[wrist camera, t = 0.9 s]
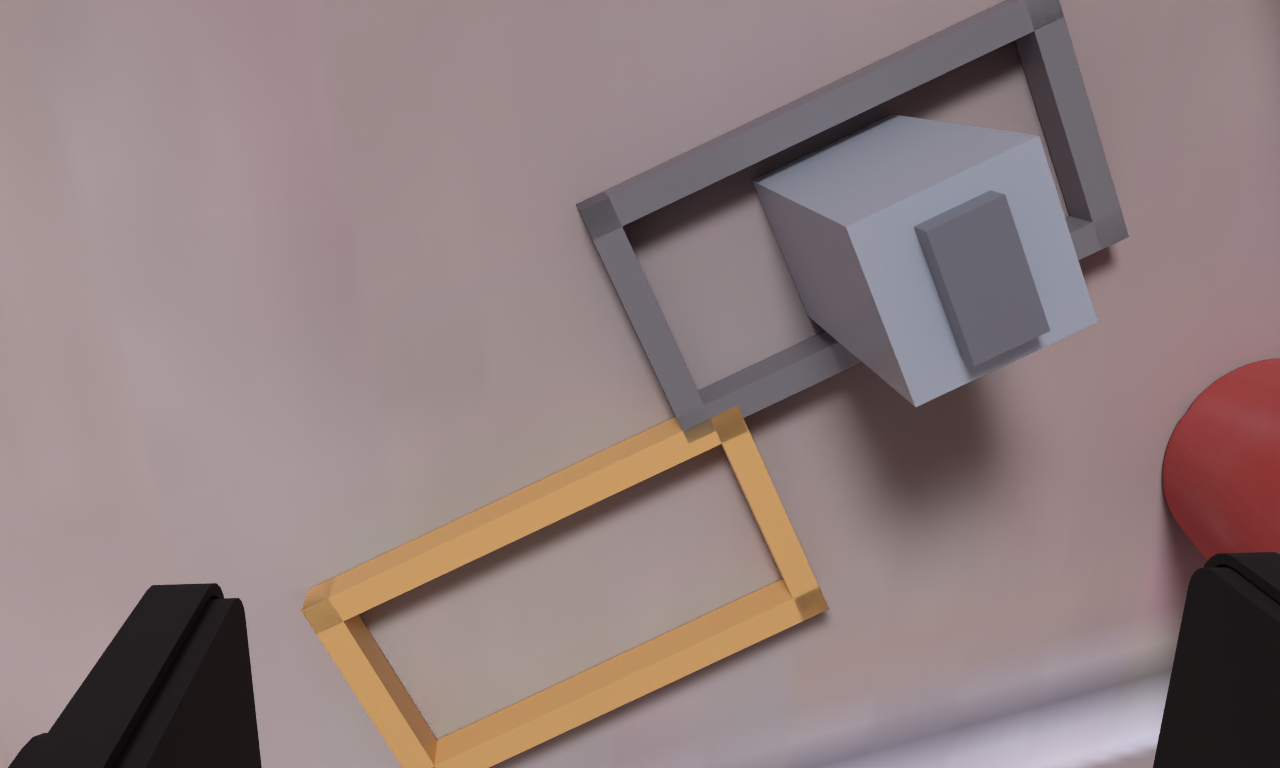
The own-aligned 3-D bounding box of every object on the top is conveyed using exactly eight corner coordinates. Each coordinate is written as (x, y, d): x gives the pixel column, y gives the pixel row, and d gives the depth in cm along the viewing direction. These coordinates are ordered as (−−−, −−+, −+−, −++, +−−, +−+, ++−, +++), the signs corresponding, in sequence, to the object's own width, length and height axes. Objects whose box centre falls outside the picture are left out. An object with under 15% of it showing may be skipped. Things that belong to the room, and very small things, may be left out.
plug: (892, 114, 35) (1056, 138, 24) (941, 252, 36) (1114, 329, 26) (752, 180, 35) (856, 232, 24) (807, 315, 36) (928, 417, 26)
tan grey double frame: (1031, -12, 34) (1054, -16, 32) (1164, 427, 39) (1189, 441, 38) (183, 391, 34) (169, 405, 33) (425, 771, 40) (422, 798, 38)
